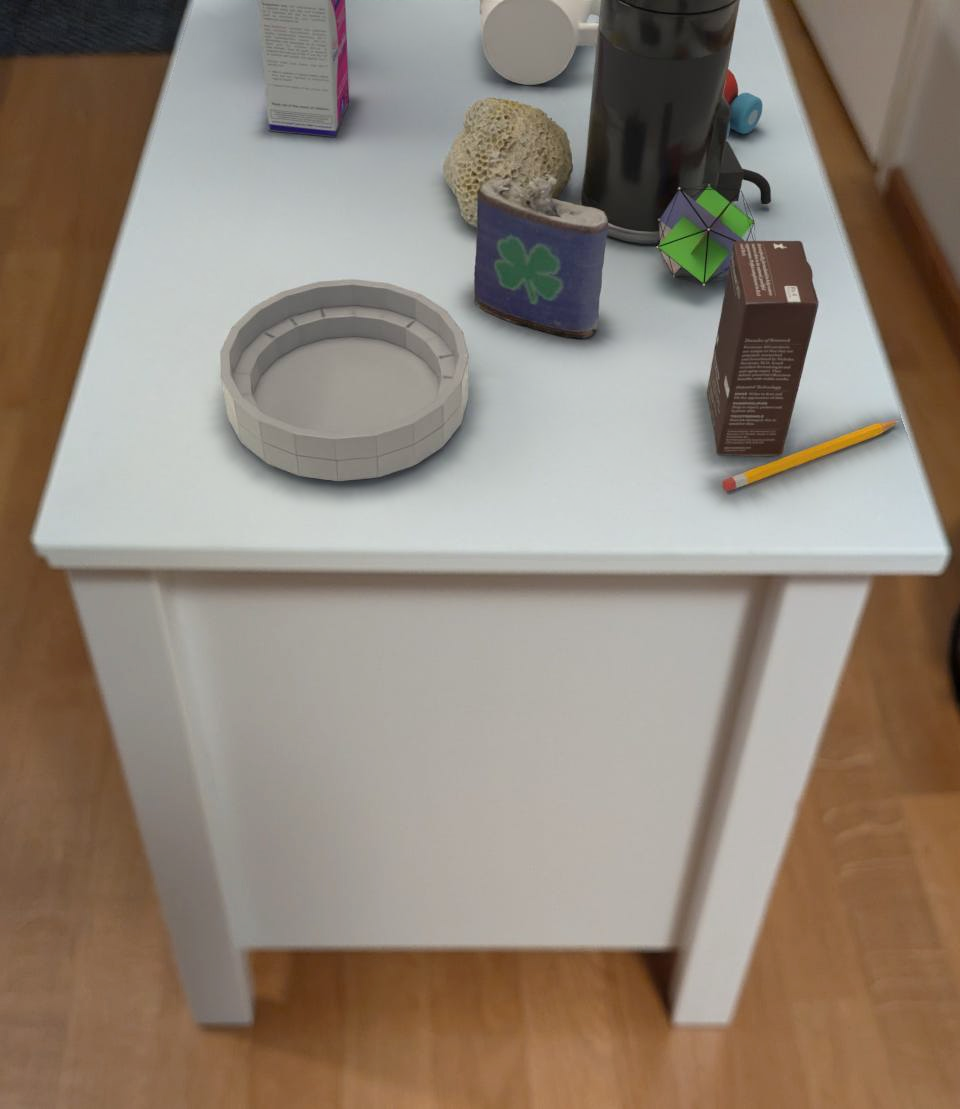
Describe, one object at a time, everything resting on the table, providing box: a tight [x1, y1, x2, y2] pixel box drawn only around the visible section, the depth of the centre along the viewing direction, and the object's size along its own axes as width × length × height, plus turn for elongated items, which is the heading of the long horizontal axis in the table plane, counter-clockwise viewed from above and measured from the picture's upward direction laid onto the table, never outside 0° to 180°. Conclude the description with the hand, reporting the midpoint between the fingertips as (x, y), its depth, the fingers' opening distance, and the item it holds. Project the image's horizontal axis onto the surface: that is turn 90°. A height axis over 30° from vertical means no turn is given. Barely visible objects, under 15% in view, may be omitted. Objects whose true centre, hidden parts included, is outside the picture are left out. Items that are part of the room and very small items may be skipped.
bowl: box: [219, 278, 469, 482], centre depth 79 cm, size 15×15×4 cm
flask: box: [473, 175, 609, 339], centre depth 83 cm, size 9×3×11 cm, turn 63°
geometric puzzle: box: [655, 184, 757, 287], centre depth 88 cm, size 7×7×8 cm
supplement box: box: [257, 0, 350, 138], centre depth 100 cm, size 6×6×12 cm
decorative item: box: [442, 97, 574, 229], centre depth 94 cm, size 12×9×10 cm
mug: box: [479, 0, 600, 86], centre depth 108 cm, size 12×9×8 cm
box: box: [706, 240, 820, 457], centre depth 75 cm, size 6×4×12 cm
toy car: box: [723, 68, 763, 141], centre depth 101 cm, size 9×9×10 cm
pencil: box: [721, 420, 900, 493], centre depth 78 cm, size 1×13×1 cm
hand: (305, 42), depth 103 cm, fingers closed
